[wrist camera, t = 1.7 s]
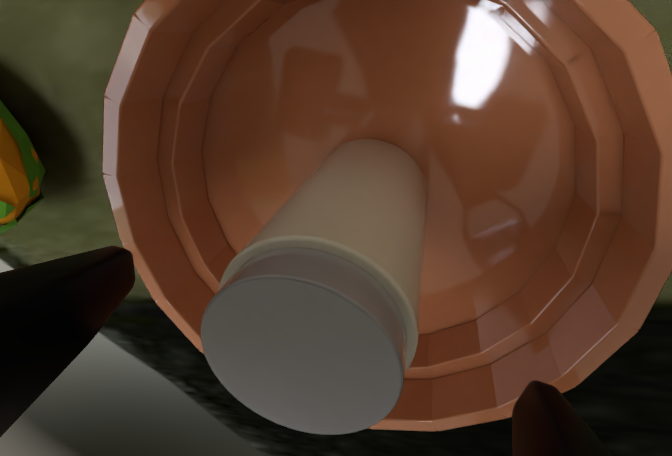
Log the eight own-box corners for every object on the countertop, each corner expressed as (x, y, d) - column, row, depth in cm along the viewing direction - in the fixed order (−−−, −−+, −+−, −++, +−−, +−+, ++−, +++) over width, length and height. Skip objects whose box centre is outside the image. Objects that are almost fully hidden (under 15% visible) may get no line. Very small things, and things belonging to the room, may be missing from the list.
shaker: (453, 193, 14) (471, 383, 6) (374, 264, 16) (319, 467, 8) (361, 112, 13) (262, 214, 6) (292, 197, 15) (157, 350, 8)
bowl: (729, 180, 12) (869, 251, 8) (388, 392, 20) (375, 480, 16) (337, -217, 10) (272, -375, 6) (133, 196, 18) (49, 241, 14)
